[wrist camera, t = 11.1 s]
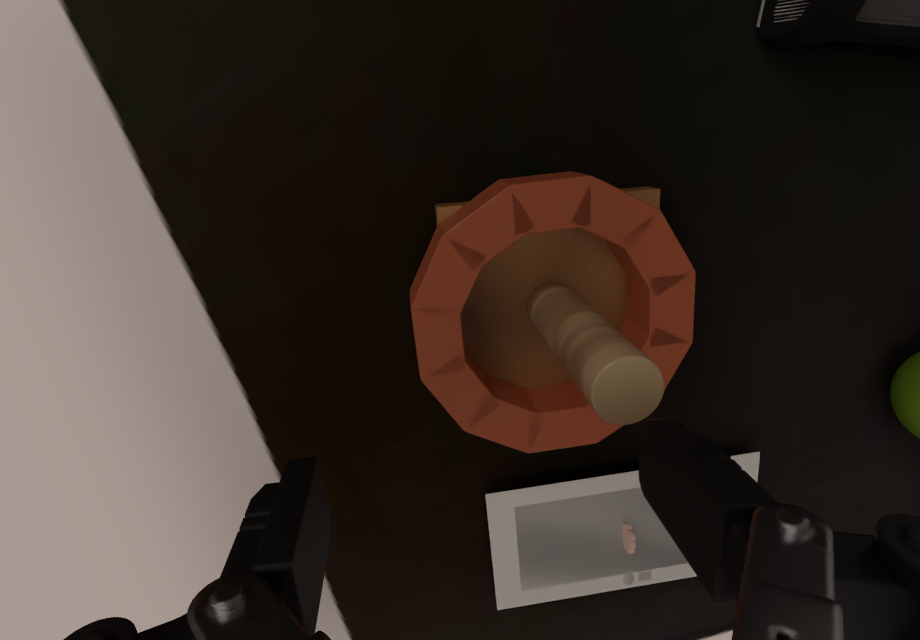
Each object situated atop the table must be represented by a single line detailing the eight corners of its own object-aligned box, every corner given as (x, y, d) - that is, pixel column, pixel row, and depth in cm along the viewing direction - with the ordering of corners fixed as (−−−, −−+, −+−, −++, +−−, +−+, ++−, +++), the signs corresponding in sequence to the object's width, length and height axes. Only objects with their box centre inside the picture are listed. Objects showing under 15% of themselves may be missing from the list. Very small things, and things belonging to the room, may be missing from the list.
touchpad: (482, 482, 30) (488, 507, 28) (747, 441, 31) (772, 463, 29) (494, 594, 32) (500, 626, 30) (738, 553, 33) (761, 581, 31)
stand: (434, 204, 25) (458, 248, 15) (649, 186, 26) (800, 217, 16) (451, 403, 28) (479, 542, 18) (641, 381, 29) (762, 505, 19)
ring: (395, 191, 23) (395, 197, 21) (669, 159, 24) (700, 162, 22) (429, 438, 27) (432, 468, 25) (664, 404, 28) (689, 430, 26)
